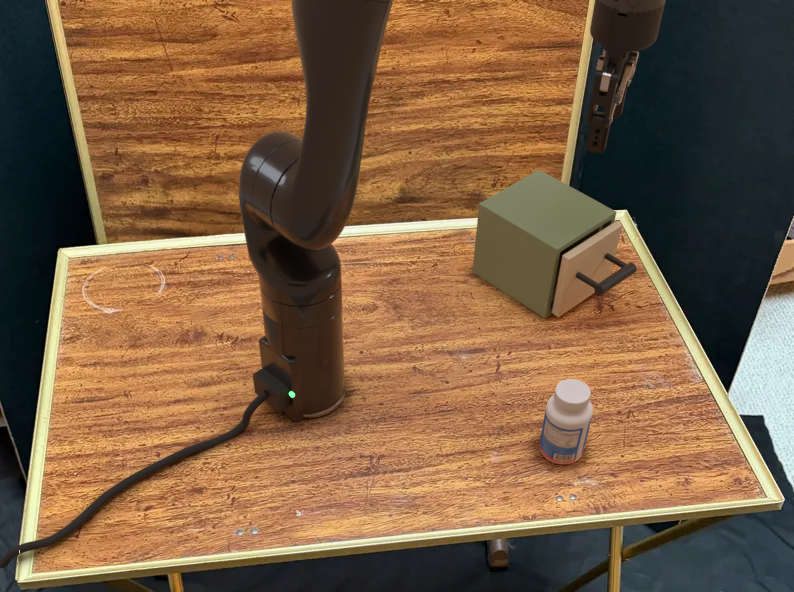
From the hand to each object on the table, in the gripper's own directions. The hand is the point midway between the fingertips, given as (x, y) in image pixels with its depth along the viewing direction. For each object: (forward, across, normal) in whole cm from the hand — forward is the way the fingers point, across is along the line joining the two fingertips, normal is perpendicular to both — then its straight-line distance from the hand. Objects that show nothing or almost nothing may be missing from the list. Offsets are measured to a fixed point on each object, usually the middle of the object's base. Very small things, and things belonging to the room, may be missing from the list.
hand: (603, 133), depth 118 cm
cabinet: (+23, 0, -5) cm, 23 cm away
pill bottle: (+23, +31, +7) cm, 39 cm away
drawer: (+22, +2, -1) cm, 22 cm away
